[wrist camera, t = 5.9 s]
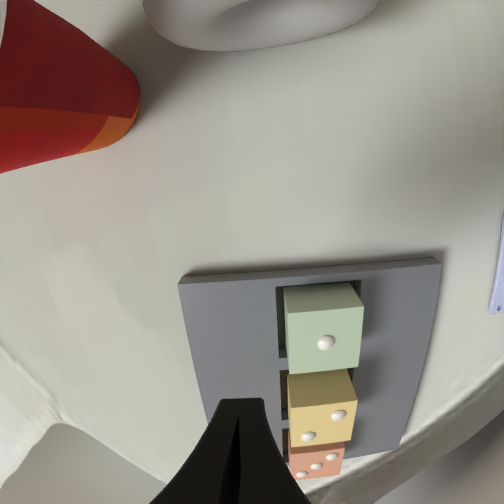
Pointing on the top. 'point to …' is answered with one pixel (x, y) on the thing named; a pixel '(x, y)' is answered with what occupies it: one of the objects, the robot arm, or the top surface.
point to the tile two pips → (320, 407)
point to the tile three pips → (315, 460)
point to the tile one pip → (322, 327)
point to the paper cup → (57, 88)
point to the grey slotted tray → (274, 359)
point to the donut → (251, 21)
